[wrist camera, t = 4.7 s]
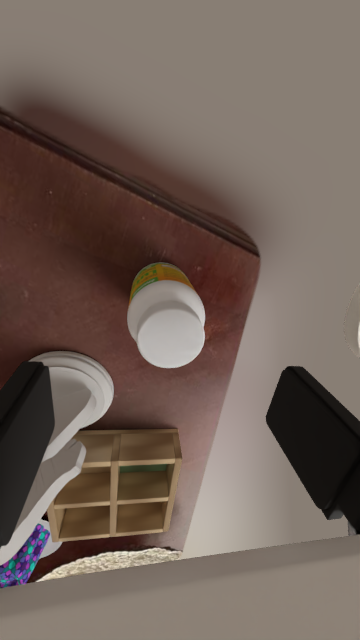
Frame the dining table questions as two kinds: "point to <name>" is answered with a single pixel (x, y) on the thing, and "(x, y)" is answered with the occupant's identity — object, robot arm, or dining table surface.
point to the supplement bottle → (166, 316)
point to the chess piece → (63, 434)
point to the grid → (119, 485)
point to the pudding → (28, 556)
